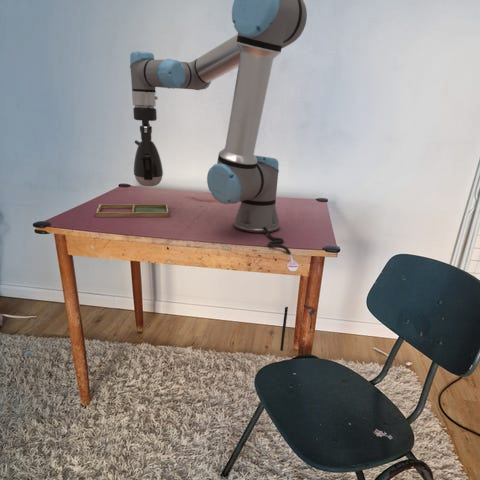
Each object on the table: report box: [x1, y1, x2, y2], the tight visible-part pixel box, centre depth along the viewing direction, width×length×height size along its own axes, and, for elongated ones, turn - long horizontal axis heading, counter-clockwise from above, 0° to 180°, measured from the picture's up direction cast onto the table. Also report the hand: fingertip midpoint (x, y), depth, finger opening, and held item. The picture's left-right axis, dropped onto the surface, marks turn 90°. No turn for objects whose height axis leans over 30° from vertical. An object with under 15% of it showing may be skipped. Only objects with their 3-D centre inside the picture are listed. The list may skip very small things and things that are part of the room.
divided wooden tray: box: [95, 203, 170, 218], centre depth 153 cm, size 13×25×2 cm, turn 100°
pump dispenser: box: [133, 140, 164, 187], centre depth 147 cm, size 10×10×15 cm
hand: (148, 176), depth 149 cm, fingers closed on pump dispenser, 10 cm apart
